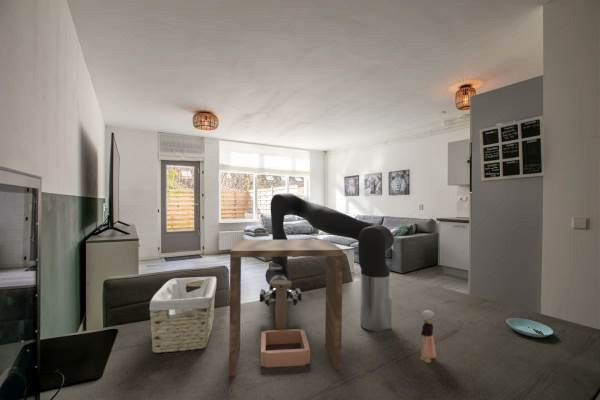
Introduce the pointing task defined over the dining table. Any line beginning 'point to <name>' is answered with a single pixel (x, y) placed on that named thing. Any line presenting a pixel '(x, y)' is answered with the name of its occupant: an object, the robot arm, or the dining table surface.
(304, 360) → the socket
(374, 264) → the robot arm
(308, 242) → the wooden footstool
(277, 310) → the handle
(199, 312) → the storage basket
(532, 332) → the saucer
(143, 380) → the dining table surface
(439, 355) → the dining table surface
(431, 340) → the grandmother figurine
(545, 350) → the dining table surface
